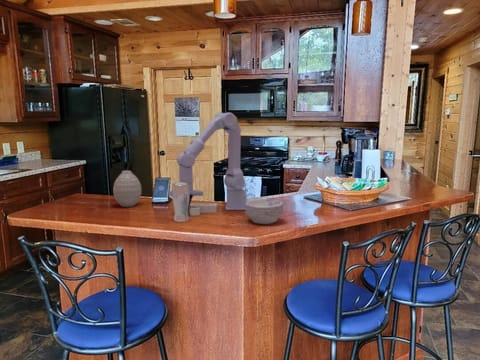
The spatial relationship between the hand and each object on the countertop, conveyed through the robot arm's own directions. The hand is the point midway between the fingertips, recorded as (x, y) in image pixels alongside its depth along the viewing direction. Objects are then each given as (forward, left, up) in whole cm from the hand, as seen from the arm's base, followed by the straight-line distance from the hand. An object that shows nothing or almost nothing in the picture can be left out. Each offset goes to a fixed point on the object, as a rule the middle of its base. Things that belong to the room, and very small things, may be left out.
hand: (186, 212), depth 160 cm
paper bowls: (-33, +12, -1) cm, 35 cm away
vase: (+30, -17, -1) cm, 35 cm away
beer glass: (+1, +9, -1) cm, 10 cm away
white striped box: (-6, -6, -1) cm, 9 cm away
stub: (-4, 0, -1) cm, 4 cm away
